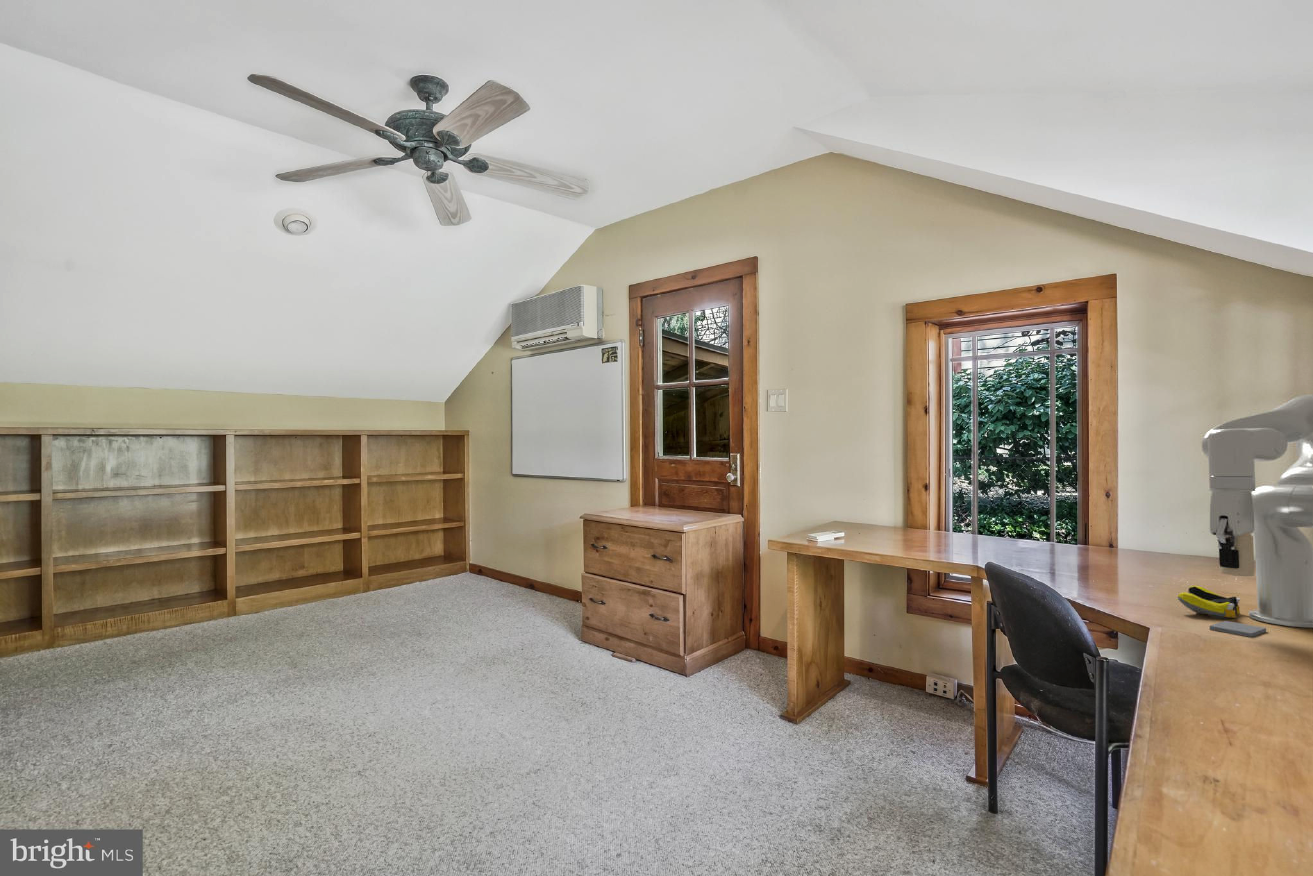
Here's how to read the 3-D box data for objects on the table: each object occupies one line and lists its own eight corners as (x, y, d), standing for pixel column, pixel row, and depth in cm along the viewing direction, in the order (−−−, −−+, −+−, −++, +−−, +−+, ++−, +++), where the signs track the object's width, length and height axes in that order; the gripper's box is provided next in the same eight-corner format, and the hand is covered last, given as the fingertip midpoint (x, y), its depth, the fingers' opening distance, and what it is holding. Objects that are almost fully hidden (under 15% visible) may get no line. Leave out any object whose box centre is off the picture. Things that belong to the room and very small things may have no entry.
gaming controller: (1176, 615, 151) (1232, 623, 144) (1175, 592, 152) (1231, 599, 144) (1190, 605, 161) (1243, 612, 153) (1189, 583, 161) (1242, 590, 153)
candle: (1228, 575, 136) (1226, 530, 136) (1215, 571, 141) (1213, 527, 141) (1260, 577, 134) (1258, 530, 134) (1245, 572, 139) (1244, 527, 139)
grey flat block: (1225, 624, 142) (1225, 620, 142) (1266, 631, 136) (1266, 628, 136) (1209, 629, 138) (1209, 625, 138) (1251, 637, 132) (1251, 633, 132)
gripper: (1226, 482, 146) (1230, 560, 145) (1193, 485, 137) (1196, 567, 137) (1270, 483, 139) (1273, 564, 139) (1237, 486, 131) (1241, 573, 130)
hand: (1235, 565), depth 138 cm, fingers closed on candle, 5 cm apart
